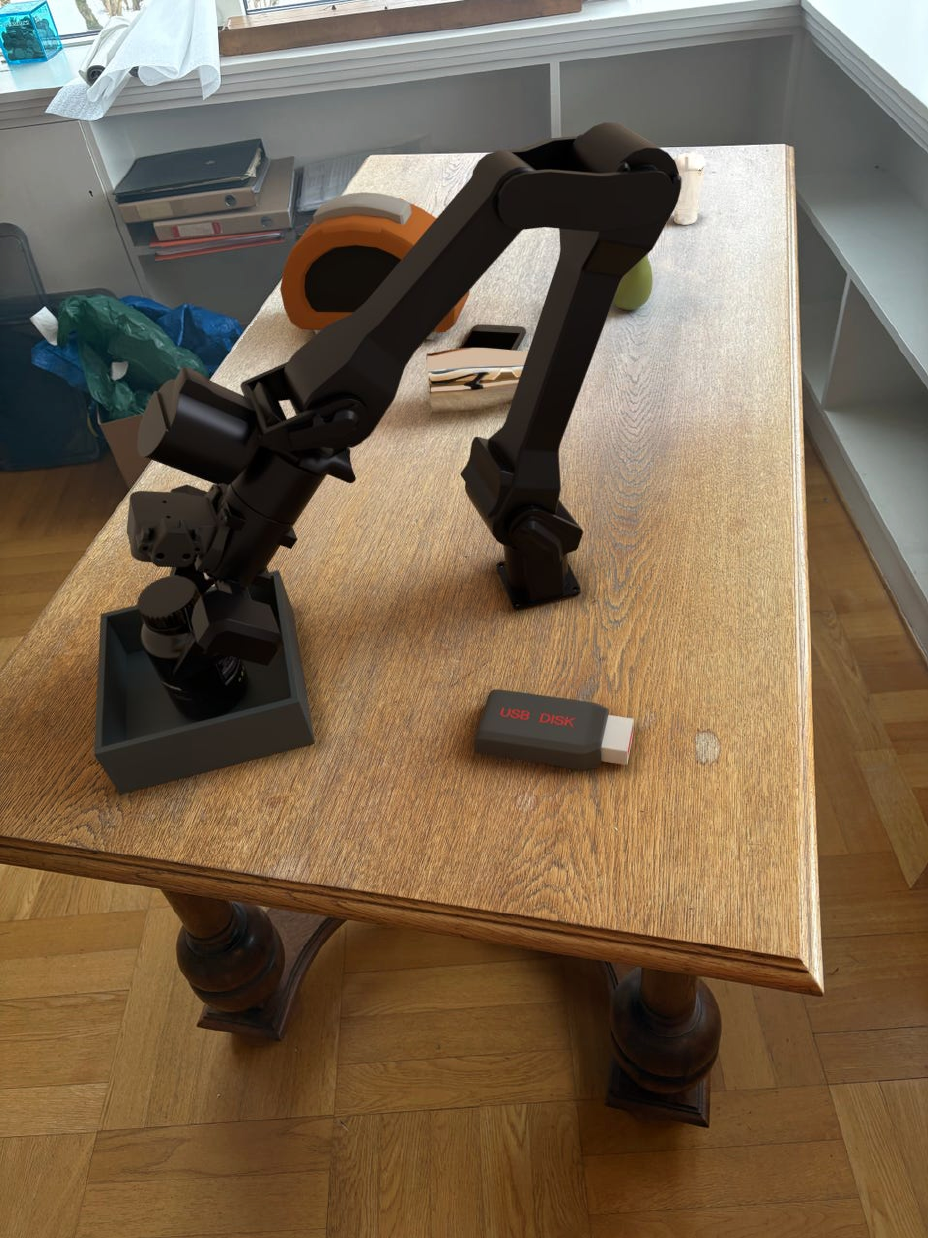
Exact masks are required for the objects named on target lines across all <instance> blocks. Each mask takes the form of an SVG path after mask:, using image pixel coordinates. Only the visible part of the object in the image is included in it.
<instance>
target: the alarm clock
mask: <svg viewBox="0 0 928 1238" xmlns="http://www.w3.org/2000/svg"><path fill="white" fill-rule="evenodd" d="M312 218H313V221H312V223H311V224H310V225H308V227H307V228H306V230H305V231H304V233H303V234H302V235H301V236H300V237H299V239H298V240H297V241H296V243H295V244H294V245H293V246H292V248H291V250H290V252H289V254H288V257H287V259H286V262H285V264H284V267H283V272H282V277H281V283H280V288H279V291H280V295H281V299H282V304H283V309H284V311H285V313H286V316H287V317H288V319H289V322H290V323H291V324H292V325H294V326H295V327H297V328H299V330H303V331H304V330H306V331H307V330H308V331H313V332H314V333H315V334H314V335H316V334H317V333H318V332H319V331H321V330H322V329H323V328H324V327H325V326H327V325H329V324H331V323H333V322H336V321H338V320H340V319H342V318H345V317H347V316H349V315H351V314H352V313H354V312H355V311H356V310H357V309H358V308H360V307H361V306H362V305H363V304H364V303H365V302H366V301H367V300H368V299H369V298H370V296H371V295H372V294H373V293H374V292H375V291H376V289H377V288H378V287H379V286H380V285H381V283H382V282H383V281H384V280H385V279H386V278H387V276H388V275H389V274H390V273H391V272H392V270H393V269H394V268H395V267H396V266H397V265H398V263H399V262H400V261H401V260H402V259H403V257H404V256H405V255H406V254H407V253H408V252H409V250H410V249H411V248H412V247H413V246H414V244H415V243H416V242H417V241H418V240H419V239H420V237H421V236H422V235H423V234H424V233H425V232H426V230H427V229H428V228H429V227H430V226H431V224H432V223H433V222H434V221H435V220H436V219H437V217H435V215H433V214H431V213H430V212H428V211H426V210H425V209H424V208H421V207H419V206H417V205H416V204H413V203H411V202H409V201H407V200H405V199H403V198H400V197H396V196H392V195H387V194H384V193H383V194H382V193H378V192H364V191H363V192H353V193H347V194H344V195H339V196H335V197H333V198H331V199H329V200H326V201H324V202H323V203H321V204H320V206H319V207H318V208H317V209H316V211H315V212H314V213H313V215H312ZM470 291H471V289H470V290H469V291H468V292H467V294H466V295H465V296H464V297H463V298H462V299H461V300H460V301H459V303H458V304H457V305H456V306H455V307H454V308H453V309H452V311H451V312H450V313H449V314H448V315H447V316H446V317H445V318H444V320H443V321H442V322H441V323H440V324H439V325H438V326H437V328H436V329H435V330H434V331H433V332H432V333H431V334H430V335H429V337H428V338H427V339H426V340H431V341H432V340H434V338H435V337H436V335H437V333H447V332H448V331H449V330H450V329H451V328H452V327H454V326H455V325H456V323H457V322H458V319H459V318H460V315H461V313H462V311H463V309H464V307H465V305H466V303H467V301H468V299H469V297H470Z"/></svg>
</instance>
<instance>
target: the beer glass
mask: <svg viewBox="0 0 928 1238" xmlns="http://www.w3.org/2000/svg"><path fill="white" fill-rule="evenodd" d="M528 351H529V349H528V350H517V351H515V350H503V349H491V348H461V349H459V348H454V349H447V350H442V351H436V352H429V353H428V352H427V353H426V371H427V373H426V375H427V383H428V394H429V402H430V409H431V412H432V413H435V412H436V413H438V412H439V413H441V412H444V413H451V412H452V413H453V412H454V413H455V412H456V413H458V412H470V411H479V410H485V409H489V408H493V407H497V406H501V405H505V404H508V403H512V400H513V397H514V394H515V391H516V388H517V385H518V382H519V379H520V376H521V373H522V370H523V366H524V363H525V360H526V357H527V354H528Z"/></svg>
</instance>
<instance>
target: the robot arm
mask: <svg viewBox="0 0 928 1238" xmlns="http://www.w3.org/2000/svg"><path fill="white" fill-rule="evenodd" d="M681 185H682V178H681V176H679V172H678V169H677V166H676V163H675V161H674V158H673V157H672V156H671V155H670V153H669V152H668V151H665V150H664V149H662V148H661V147H659V146H657V145H656V144H654V143H653V142H651V141H649V140H647V139H646V138H644V137H642V136H641V135H639V134H638V133H636V132H634V131H633V130H632V129H629V128H628V127H626V126H624V125H622V124H620V123H618V122H607V121H605V122H602V123H599V124H596V125H593V126H592V127H590V128H589V129H588V130H586V131H585V132H584V133H583V134H581V133H580V134H579V135H573V136H572V135H571V136H562V137H561V136H560V137H551V138H546V139H543V140H540V141H538V142H536V143H533V144H532V143H531V144H530V145H527V146H525V147H522V148H517V149H507V150H505V149H504V150H496V151H493V152H489V153H486V154H485V155H484V156H482V157H481V159H478V162H477V163H476V165H475V166H474V167H473V170H472V174H471V176H470V178H469V180H467V182H466V183H465V184H464V185H463V186H462V187H461V189H459V191H458V192H457V193H456V195H455V196H454V197H453V198H452V200H451V201H450V202H449V203H448V204H447V206H445V208H443V210H442V212H440V214H439V215H438V216H437V217H436V218H437V219H436V220H435V221H434V222H433V223H432V224H431V226H430V227H429V228H428V229H427V230H426V232H425V233H424V234H423V235H422V236H421V237H420V239H419V240H418V241H417V242H416V243H415V244H414V246H413V247H412V248H411V249H410V250H409V252H408V253H407V254H406V255H405V256H404V257H403V259H402V260H401V261H400V262H399V263H398V265H397V266H396V267H395V268H394V269H393V270H392V272H391V273H390V274H389V275H388V276H387V278H386V279H385V280H384V281H383V282H382V283H381V285H380V286H379V287H378V288H377V289H376V291H375V292H374V293H373V294H372V295H371V296H370V298H369V299H368V300H367V301H366V302H365V303H364V304H363V305H362V306H361V307H360V308H358V309H357V310H356V311H355V312H354V313H352V314H351V315H349V316H347V317H345V318H342V319H340V320H338V321H336V322H333V323H331V324H329V325H327V326H325V327H324V328H323V329H322V330H321V331H319V332H318V333H317V334H314V335H313V336H312V337H311V338H310V339H309V340H308V341H306V342H305V343H304V344H303V345H302V346H301V347H300V348H299V349H297V350H296V351H295V352H294V353H293V354H292V355H291V356H290V358H289V359H288V361H286V362H284V363H281V364H279V365H277V366H275V367H272V368H270V369H269V370H266V371H264V372H262V373H259V374H257V375H255V376H253V377H250V378H248V379H246V380H243V381H241V383H240V385H239V387H240V391H241V392H242V394H240V393H238V392H236V391H234V390H232V389H230V388H227V387H225V386H223V385H221V384H218V383H216V382H214V381H212V380H210V379H208V378H207V377H206V376H205V375H203V374H202V373H201V372H199V371H197V370H194V369H192V368H190V367H188V366H183V367H181V369H180V370H179V372H178V374H177V376H176V377H175V379H174V378H170V379H169V380H166V382H165V383H163V384H162V386H160V388H159V389H158V391H157V390H155V391H153V394H152V395H151V397H150V398H149V401H148V402H147V405H146V407H145V409H144V412H143V415H142V418H141V420H140V424H139V428H138V433H137V442H136V443H137V452H138V454H139V455H140V456H141V457H143V458H145V459H149V460H151V461H153V462H156V463H159V464H161V465H163V466H166V467H170V468H171V469H175V470H177V471H180V472H183V473H185V474H188V475H190V476H193V477H196V478H197V479H200V480H203V481H205V482H209V483H211V486H210V488H209V489H208V490H207V491H206V490H203V489H201V488H198V487H195V486H193V485H190V484H184V485H180V486H178V487H174V488H172V489H170V491H153V490H152V491H148V490H136V491H134V492H131V494H130V495H129V503H128V512H127V513H128V514H127V522H126V535H127V537H128V542H129V548H130V554H131V556H132V558H134V559H135V560H136V561H139V562H142V563H152V564H153V565H154V566H155V567H158V568H170V571H169V576H172V575H174V576H176V575H179V576H184V577H188V578H189V579H191V580H192V581H193V582H194V583H195V584H196V586H197V588H198V590H199V592H200V593H201V596H200V598H199V600H198V601H197V603H196V604H195V606H194V609H191V608H188V607H185V612H186V616H187V619H188V623H189V627H190V631H191V632H190V634H189V636H188V638H187V640H186V642H185V645H184V647H183V649H182V651H181V653H180V656H179V658H178V660H177V663H176V665H175V668H174V671H173V674H174V676H175V677H180V678H187V677H189V676H191V675H193V674H195V673H197V672H199V671H201V670H203V669H205V668H207V667H209V666H211V665H213V664H215V663H217V662H219V661H221V660H223V659H225V658H227V657H234V658H237V659H241V660H245V661H249V662H253V663H257V664H261V665H265V666H268V665H270V664H271V663H272V662H273V661H274V659H275V658H276V656H277V655H278V654H279V652H280V651H281V649H282V648H283V646H284V643H283V641H282V638H281V635H280V632H279V629H278V626H277V623H276V621H275V618H274V615H273V612H272V610H271V607H270V605H267V604H264V603H261V602H257V601H254V600H251V597H250V594H249V591H248V588H247V587H248V586H249V585H250V584H252V585H255V586H258V587H262V588H266V586H267V585H268V583H269V582H270V580H271V577H270V574H269V572H270V571H269V569H268V566H269V564H270V563H271V561H272V560H273V558H274V556H275V555H276V553H277V552H278V551H279V549H280V547H284V548H285V549H286V548H287V549H289V550H292V549H293V547H294V546H295V544H296V543H297V542H298V541H299V538H298V537H297V534H296V531H295V529H294V526H295V524H296V523H297V521H298V520H299V518H300V517H301V515H302V513H303V512H304V510H306V508H307V506H308V504H309V503H310V502H311V500H312V499H313V496H315V493H316V492H317V491H318V489H319V488H320V486H321V485H322V483H323V482H324V480H325V478H326V477H327V476H330V477H333V478H335V479H338V480H340V481H343V482H345V483H347V484H353V483H355V481H356V479H357V478H356V474H355V472H354V469H353V466H352V462H351V461H352V460H351V449H353V448H355V447H357V446H359V445H361V444H362V443H364V441H366V440H367V439H368V438H369V437H371V435H372V434H373V432H375V430H376V428H377V427H378V425H379V424H380V422H381V421H382V419H383V418H384V416H385V415H386V414H387V411H388V410H389V408H390V407H391V406H392V404H393V402H394V400H395V399H396V396H397V393H398V390H399V387H400V385H401V381H402V377H403V375H404V372H405V369H406V366H408V363H409V362H410V360H411V359H412V357H413V356H414V354H415V353H416V351H417V350H419V348H420V347H421V346H422V345H423V343H424V342H425V341H426V340H428V339H427V338H428V337H429V335H430V334H431V333H432V332H433V331H434V330H435V329H436V328H437V326H438V325H439V324H440V323H441V322H442V321H443V320H444V318H445V317H446V316H447V315H448V314H449V313H450V312H451V311H452V309H453V308H454V307H455V306H456V305H457V304H458V303H459V301H460V300H461V299H462V298H463V297H464V296H465V295H466V294H467V292H468V291H469V290H470V291H471V289H472V288H473V287H474V286H475V284H476V283H477V282H478V281H479V280H480V279H481V278H482V277H483V275H484V274H485V273H486V272H487V271H488V270H489V269H490V268H491V266H492V265H493V264H494V263H495V262H496V261H497V260H498V258H499V257H500V256H501V255H502V254H503V253H504V252H505V250H506V249H507V248H508V247H509V246H510V245H511V244H512V243H513V241H515V239H517V237H518V236H519V235H520V234H521V233H522V232H523V231H524V230H533V229H543V228H549V229H558V235H559V255H558V260H557V262H556V266H555V269H554V272H553V275H552V278H551V281H550V283H549V284H550V285H549V286H548V291H547V294H546V296H545V300H544V303H543V306H542V309H541V312H540V314H539V318H538V320H537V321H538V322H537V324H536V326H535V327H536V328H535V330H534V333H533V335H532V339H531V342H530V345H529V349H528V350H529V351H528V350H527V351H528V354H527V357H526V360H525V363H524V366H523V370H522V373H521V376H520V379H519V382H518V385H517V388H516V391H515V394H514V397H513V400H512V402H510V403H511V404H510V406H509V409H508V413H507V415H506V419H505V421H504V423H503V425H502V427H500V428H499V429H498V430H497V431H496V432H495V433H493V434H492V435H491V436H490V437H489V438H484V437H480V436H474V437H473V439H472V441H471V443H470V444H471V445H470V452H469V456H468V460H467V463H466V465H465V466H464V468H463V469H462V470H461V472H460V474H459V475H460V476H461V478H462V480H463V481H464V490H465V494H466V495H467V498H468V499H469V501H470V502H471V504H472V505H473V507H474V508H475V511H477V513H478V515H479V517H480V518H481V519H482V521H483V522H484V524H485V526H486V527H487V529H488V531H489V532H490V533H491V535H492V536H493V537H494V539H495V540H496V542H497V543H499V544H501V545H502V547H503V556H504V560H501V561H498V562H496V567H495V568H496V571H497V573H498V576H499V578H500V582H501V583H502V586H503V588H504V591H505V593H506V595H507V599H508V601H509V603H510V605H511V608H512V609H513V610H514V611H523V610H526V609H530V608H534V607H538V606H542V605H545V604H550V603H554V602H557V601H561V600H565V599H569V598H572V597H577V596H579V595H580V594H581V592H582V590H581V586H580V584H579V581H578V580H577V577H576V576H575V574H574V572H573V569H572V567H571V566H570V563H569V560H568V554H571V553H573V552H576V551H578V549H579V546H580V543H581V541H582V537H583V534H584V530H583V529H582V528H581V526H580V525H579V524H578V522H577V521H576V520H575V518H574V517H573V516H572V514H571V513H570V512H569V511H568V509H567V507H566V506H565V505H564V503H562V501H561V500H560V497H561V490H562V483H561V481H562V480H561V467H560V466H561V464H560V447H561V443H562V441H563V438H564V436H565V432H566V430H567V427H568V425H569V422H570V419H571V417H572V413H573V411H574V408H575V405H576V403H577V400H578V398H579V396H580V392H581V390H582V387H583V385H584V381H585V379H586V376H587V373H588V371H589V368H590V365H591V362H592V360H593V357H594V354H595V352H596V349H597V347H598V344H599V340H600V338H601V336H602V333H603V330H604V328H605V324H606V322H607V319H608V316H609V315H610V311H611V308H612V307H613V306H612V305H613V304H614V303H613V301H614V298H615V295H616V293H617V290H618V287H619V285H620V282H621V281H622V279H623V277H624V276H625V274H626V273H628V272H629V271H630V270H631V269H632V268H633V267H634V266H635V265H636V264H637V263H638V262H639V261H640V260H641V259H643V258H644V257H645V256H646V255H647V254H648V255H649V253H651V251H652V250H653V249H654V247H655V246H656V244H657V242H658V240H659V239H660V236H661V235H662V233H663V231H664V230H665V228H666V225H667V224H668V222H669V220H670V218H671V216H672V214H674V209H675V207H676V205H677V202H678V199H679V195H680V191H681ZM285 401H289V403H290V406H291V407H292V409H293V411H294V413H295V415H293V416H292V417H289V418H287V416H286V414H285V412H284V409H283V407H282V405H281V403H280V402H285ZM212 586H215V588H216V591H213V592H210V593H207V594H204V593H205V592H206V591H207V590H208V589H209V588H210V587H212ZM203 594H204V595H203Z"/></svg>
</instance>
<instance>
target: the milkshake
mask: <svg viewBox="0 0 928 1238" xmlns="http://www.w3.org/2000/svg"><path fill="white" fill-rule="evenodd" d="M673 160H674V161H675V163H676V166H677V169H678V172H679V176H681V178H682V185H681V191H680V195H679V199H678V202H677V205H676V207H675V209H674V211H673V221H674V223H676V224H677V225H682V226H688V225H692V224H695V223H696V222H697V221H698V215H699V206H700V201H701V193H702V186H703V181H704V174H705V169H706V159H705V157H704V156H703V155H702V154H700V153H699V152H693V151H692V152H686V153H680V154H678V155H677V156H676V157H675V158H673Z"/></svg>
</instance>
